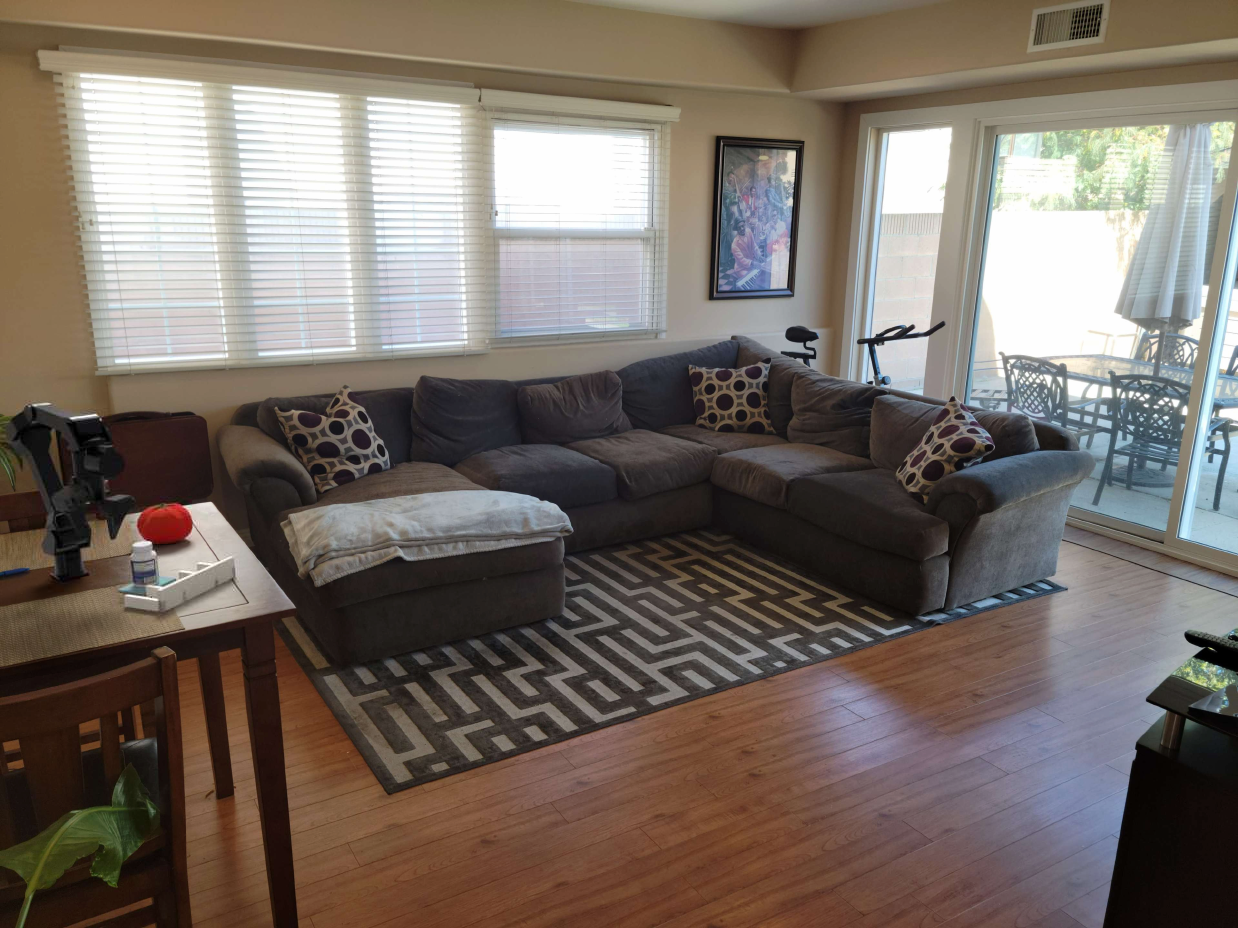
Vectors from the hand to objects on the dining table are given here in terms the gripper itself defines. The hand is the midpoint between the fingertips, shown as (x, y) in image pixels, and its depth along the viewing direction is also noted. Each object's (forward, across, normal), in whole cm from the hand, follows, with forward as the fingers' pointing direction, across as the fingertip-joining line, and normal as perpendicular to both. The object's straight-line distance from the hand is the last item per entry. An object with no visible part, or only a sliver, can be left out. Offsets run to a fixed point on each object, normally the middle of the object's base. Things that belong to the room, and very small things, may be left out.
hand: (96, 537), depth 204 cm
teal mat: (+12, +9, +4) cm, 15 cm away
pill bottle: (+12, +9, +4) cm, 15 cm away
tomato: (+12, -10, +31) cm, 35 cm away
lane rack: (+12, +19, +4) cm, 23 cm away
